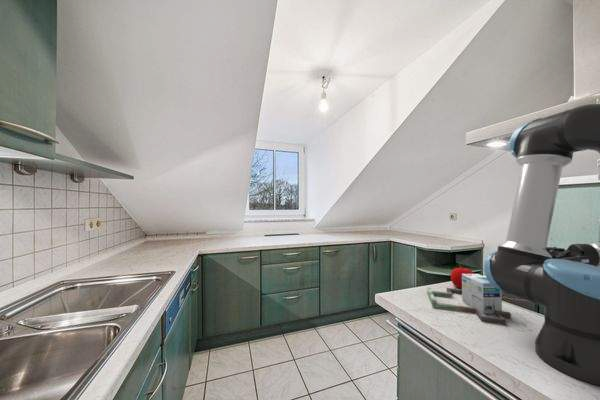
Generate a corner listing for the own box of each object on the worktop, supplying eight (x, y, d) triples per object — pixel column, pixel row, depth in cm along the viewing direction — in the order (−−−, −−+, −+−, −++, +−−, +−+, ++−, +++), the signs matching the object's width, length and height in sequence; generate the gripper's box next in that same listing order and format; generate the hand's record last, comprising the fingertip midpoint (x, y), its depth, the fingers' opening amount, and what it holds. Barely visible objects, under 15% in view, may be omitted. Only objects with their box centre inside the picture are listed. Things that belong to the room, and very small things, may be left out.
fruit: (463, 283, 109) (463, 261, 109) (481, 290, 100) (480, 267, 100) (445, 284, 108) (445, 262, 108) (462, 292, 99) (461, 268, 99)
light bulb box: (503, 314, 80) (502, 282, 80) (483, 314, 79) (483, 283, 79) (478, 301, 90) (478, 273, 90) (461, 301, 90) (460, 273, 90)
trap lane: (519, 327, 72) (519, 318, 72) (435, 314, 80) (435, 306, 80) (488, 296, 94) (488, 290, 94) (425, 288, 103) (425, 283, 103)
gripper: (632, 280, 64) (535, 277, 70) (561, 257, 88) (493, 256, 94) (631, 253, 64) (534, 252, 70) (560, 237, 88) (492, 237, 94)
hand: (510, 254), depth 82 cm, fingers open, 13 cm apart
